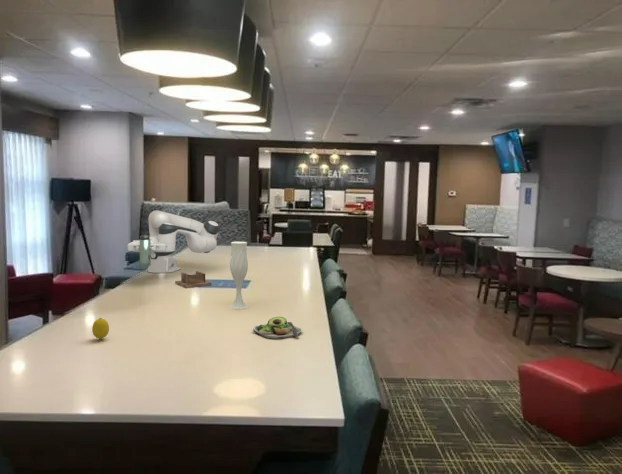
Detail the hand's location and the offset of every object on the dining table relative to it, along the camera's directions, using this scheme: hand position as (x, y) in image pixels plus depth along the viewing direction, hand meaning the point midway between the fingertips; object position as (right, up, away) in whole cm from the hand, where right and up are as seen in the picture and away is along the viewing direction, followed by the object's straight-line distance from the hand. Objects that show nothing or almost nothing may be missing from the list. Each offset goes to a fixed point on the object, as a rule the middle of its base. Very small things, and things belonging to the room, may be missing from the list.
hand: (144, 248), depth 272 cm
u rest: (+23, -20, +13) cm, 33 cm away
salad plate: (+76, -31, -77) cm, 112 cm away
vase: (+56, -26, -38) cm, 72 cm away
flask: (0, -9, +2) cm, 9 cm away
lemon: (+14, -31, -91) cm, 97 cm away
